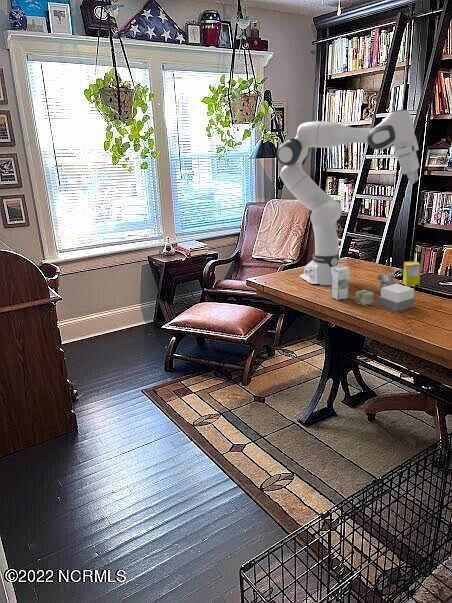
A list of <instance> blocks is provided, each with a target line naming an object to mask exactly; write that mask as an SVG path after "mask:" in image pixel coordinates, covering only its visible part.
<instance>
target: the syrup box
mask: <svg viewBox="0 0 452 603" xmlns="http://www.w3.org/2000/svg"><path fill="white" fill-rule="evenodd" d="M349 292H350V268H349V267H348V266H347V265H344V264H341V265H340V266H334V267H332V268H331V285H330V298H332V297H333V298H335V299H337V300H339V299H344V300H347V299H346V298H348V299H349V294H350V293H349ZM333 298H332V299H333ZM335 299H334V300H335ZM337 300H336V301H337ZM339 301H340V300H339Z"/></svg>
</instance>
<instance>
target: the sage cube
mask: <svg viewBox="0 0 452 603" xmlns="http://www.w3.org/2000/svg"><path fill="white" fill-rule="evenodd" d="M356 302H357V303H356ZM355 303H356V304H358V303H360V304H362V305H361V306H363V305H366V304H369V305H372V304H371V303H374V292H373V291H370V290H367V289H362V290H358V291H356V292H355ZM360 304H359V305H360ZM366 306H367V305H366Z"/></svg>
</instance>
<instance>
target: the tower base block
mask: <svg viewBox="0 0 452 603" xmlns="http://www.w3.org/2000/svg"><path fill="white" fill-rule="evenodd" d="M377 298H378V300H377V302H378V303H377V305H378V306H380V307H383V308H385V309H389V310H390V309H391V310H390V311H393V312H400V311H404V310H406V309H410V308H413V307H415V301H416V300H415V299H416V298H415V297H414V298H411V299H408V300H405V301H402V302H399V303H397V302H394V301H391V300H388V299H385V298H382V297H381V295H380V296H377Z"/></svg>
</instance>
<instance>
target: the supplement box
mask: <svg viewBox="0 0 452 603" xmlns="http://www.w3.org/2000/svg"><path fill="white" fill-rule="evenodd" d="M421 266H422V265H421V264H420V263H419V262H418V261H404V262H403V278H402V284H403V283H404V285H405V286H407V287H410V288H411V286H412V285H419V286H420V281H421V268H422V267H421Z"/></svg>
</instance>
